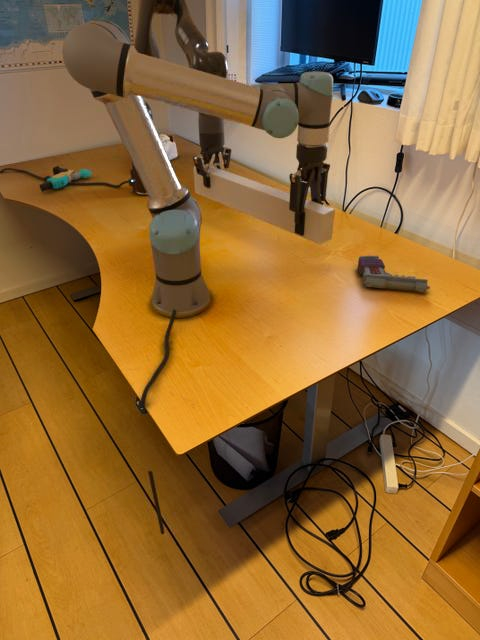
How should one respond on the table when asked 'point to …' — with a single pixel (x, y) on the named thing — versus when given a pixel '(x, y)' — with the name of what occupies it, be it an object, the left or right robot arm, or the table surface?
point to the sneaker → (169, 145)
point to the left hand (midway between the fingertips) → (213, 184)
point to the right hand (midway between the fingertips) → (305, 230)
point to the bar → (265, 204)
